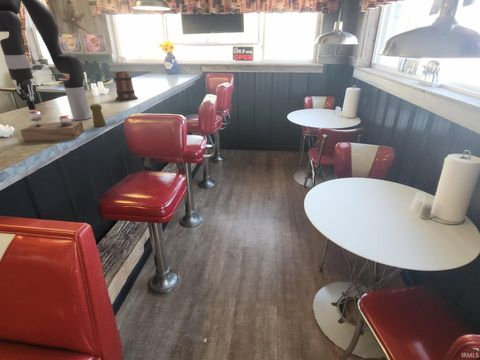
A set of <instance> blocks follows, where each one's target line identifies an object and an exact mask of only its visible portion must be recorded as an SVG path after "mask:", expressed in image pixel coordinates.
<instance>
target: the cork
mask: <svg viewBox="0 0 480 360" xmlns="http://www.w3.org/2000/svg"><path fill="white" fill-rule="evenodd" d="M89 110H90V111H91V112H92V123H93V127H94V128H102V127H103V128H104V127H106V126H107V123H106V120H105V117H104V114H103V113H102V105H101V104H100V103H92V104H91V105H89Z"/></svg>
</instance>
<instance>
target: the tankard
mask: <svg viewBox="0 0 480 360" xmlns="http://www.w3.org/2000/svg"><path fill="white" fill-rule="evenodd" d="M130 73H131V72H130V71H114V82H115V88H116V95H117V97H116V98H115V101H116V102H131V101H132V102H133V101H136V100H138V99H139V98H138V96H137V95H136V94H135V89H134V86H133V85H134V84H133V81H132V80H133V79H132V76H131V74H130Z"/></svg>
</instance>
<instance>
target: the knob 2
mask: <svg viewBox="0 0 480 360" xmlns="http://www.w3.org/2000/svg"><path fill="white" fill-rule="evenodd" d="M58 118H59V122H61V125H65V126H66V125H70V124H72V122H73V121H72V118H71V116H70V115H61V116H59V117H58Z"/></svg>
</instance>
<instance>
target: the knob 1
mask: <svg viewBox="0 0 480 360" xmlns="http://www.w3.org/2000/svg"><path fill="white" fill-rule="evenodd" d="M27 115H28V117H29V121H31V122H34V124H35V123H36V126H37V127H40V124H39V123H40V121H42V120H43V118H42V114H41V112H40V111H39V110H30V111H29V112H27Z"/></svg>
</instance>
